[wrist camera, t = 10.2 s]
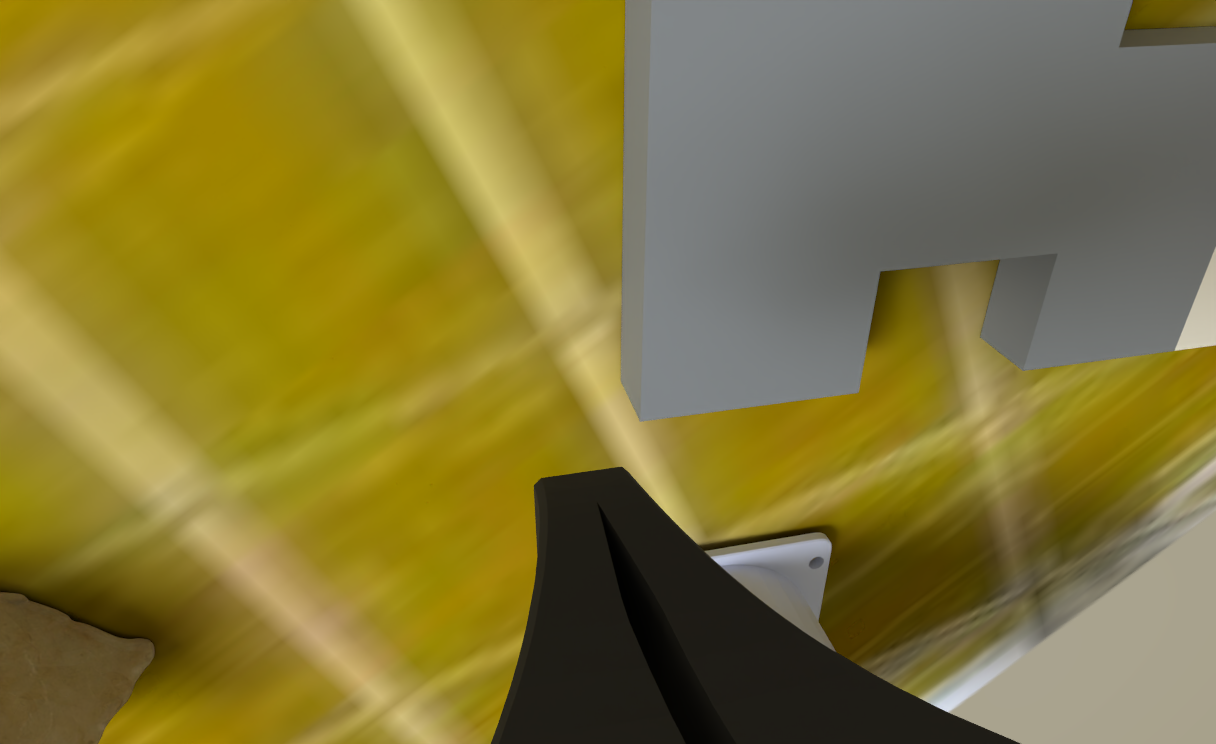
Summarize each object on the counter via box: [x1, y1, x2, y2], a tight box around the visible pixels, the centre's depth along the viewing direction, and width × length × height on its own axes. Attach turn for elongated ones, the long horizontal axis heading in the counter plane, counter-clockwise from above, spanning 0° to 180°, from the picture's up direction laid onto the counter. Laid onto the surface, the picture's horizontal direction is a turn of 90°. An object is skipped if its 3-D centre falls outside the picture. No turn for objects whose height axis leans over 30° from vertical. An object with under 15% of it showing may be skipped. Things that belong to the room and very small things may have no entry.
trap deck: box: [621, 0, 1216, 422], centre depth 20 cm, size 12×23×4 cm, turn 89°
